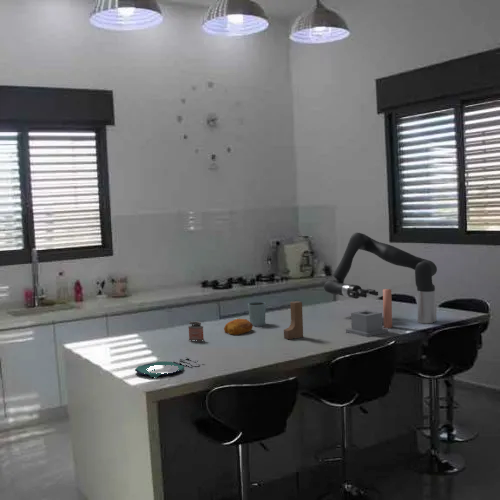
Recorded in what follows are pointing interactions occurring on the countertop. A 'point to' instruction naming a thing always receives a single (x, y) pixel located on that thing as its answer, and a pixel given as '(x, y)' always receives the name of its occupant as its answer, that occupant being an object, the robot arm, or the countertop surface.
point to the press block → (366, 323)
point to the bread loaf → (238, 326)
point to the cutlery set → (143, 368)
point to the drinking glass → (257, 313)
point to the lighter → (195, 331)
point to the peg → (387, 308)
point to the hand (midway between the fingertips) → (372, 294)
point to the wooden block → (295, 321)
